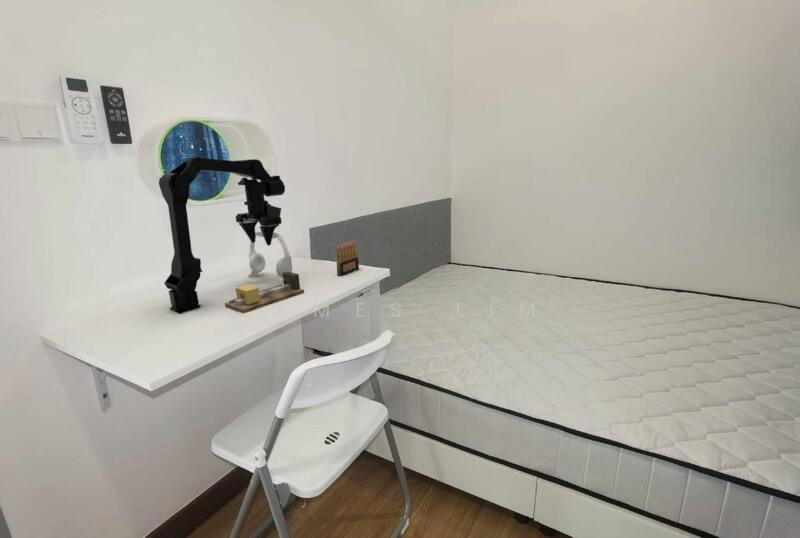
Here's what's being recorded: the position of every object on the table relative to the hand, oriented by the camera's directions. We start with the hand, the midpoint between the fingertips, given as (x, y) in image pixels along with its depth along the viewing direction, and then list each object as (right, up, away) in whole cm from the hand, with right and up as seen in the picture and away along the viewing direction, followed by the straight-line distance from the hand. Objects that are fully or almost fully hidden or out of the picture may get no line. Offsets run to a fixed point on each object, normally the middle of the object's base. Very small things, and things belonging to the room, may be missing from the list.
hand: (261, 243), depth 143 cm
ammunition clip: (+28, -10, +15) cm, 34 cm away
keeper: (+2, -18, -16) cm, 25 cm away
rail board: (+6, -18, -12) cm, 22 cm away
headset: (0, -12, +11) cm, 17 cm away
